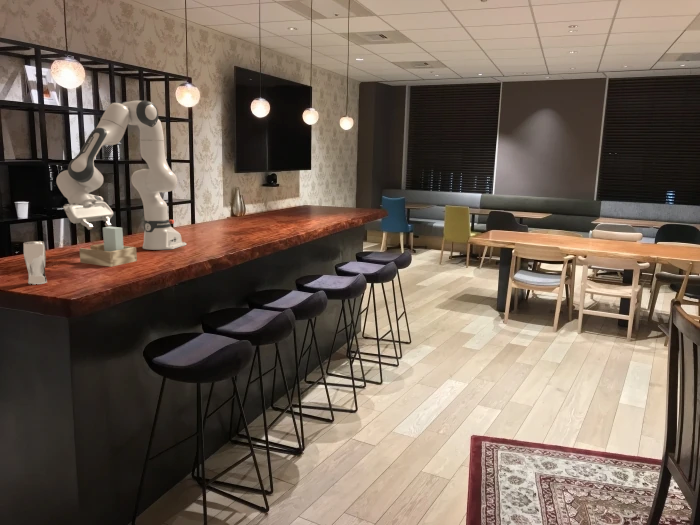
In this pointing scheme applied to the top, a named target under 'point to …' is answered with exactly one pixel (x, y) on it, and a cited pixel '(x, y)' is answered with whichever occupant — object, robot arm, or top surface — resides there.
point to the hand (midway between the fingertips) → (100, 227)
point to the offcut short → (97, 247)
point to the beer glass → (35, 261)
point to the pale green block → (113, 238)
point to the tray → (108, 256)
